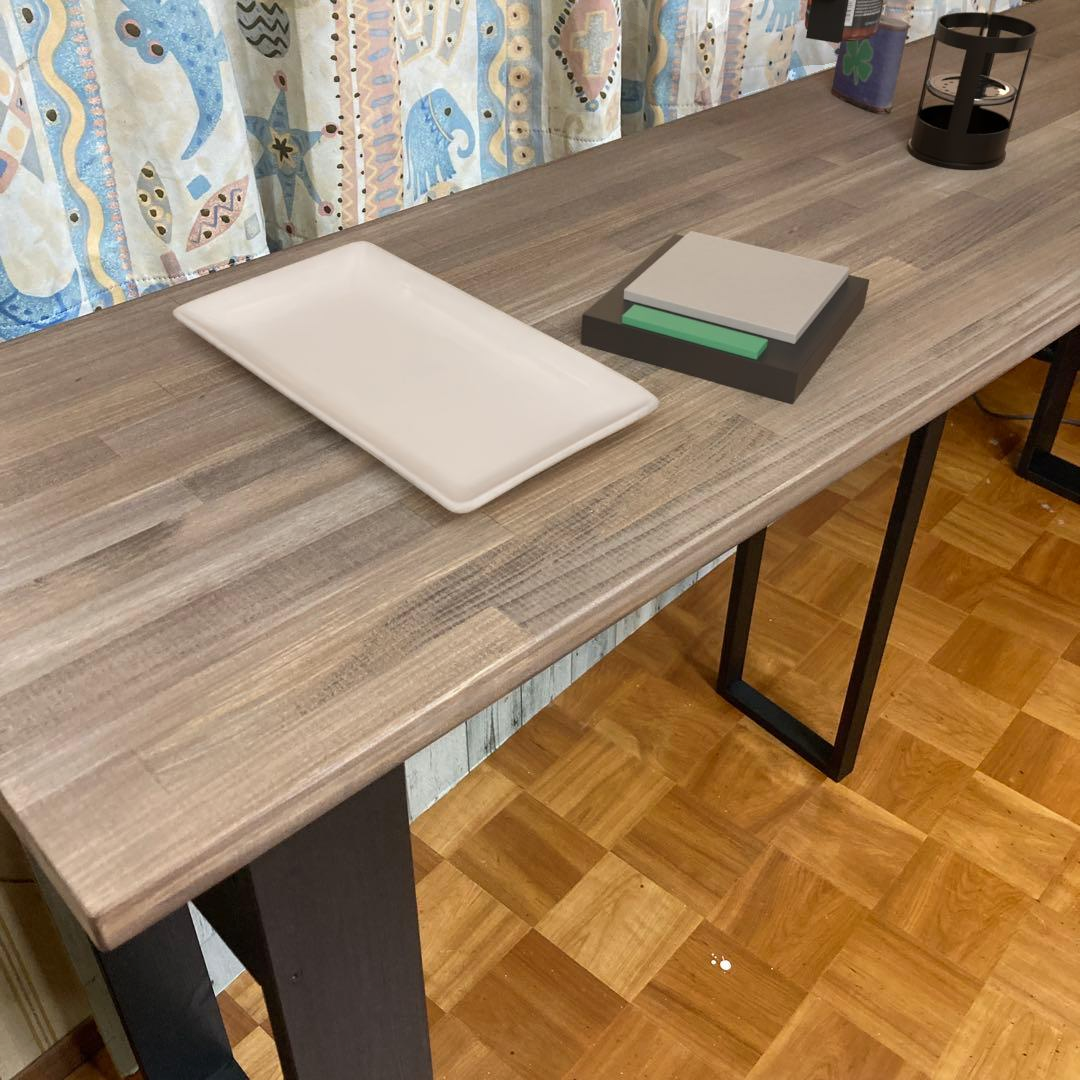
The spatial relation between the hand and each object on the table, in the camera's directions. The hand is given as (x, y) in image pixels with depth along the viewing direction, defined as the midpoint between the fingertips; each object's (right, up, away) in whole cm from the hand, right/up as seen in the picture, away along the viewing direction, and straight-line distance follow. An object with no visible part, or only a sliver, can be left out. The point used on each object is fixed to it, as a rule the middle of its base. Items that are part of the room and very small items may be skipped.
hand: (837, 29), depth 92 cm
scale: (-10, -26, -8) cm, 29 cm away
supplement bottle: (0, 0, 0) cm, 1 cm away
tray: (-33, -32, -16) cm, 49 cm away
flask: (+11, +7, +33) cm, 35 cm away
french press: (+17, -3, +21) cm, 27 cm away
